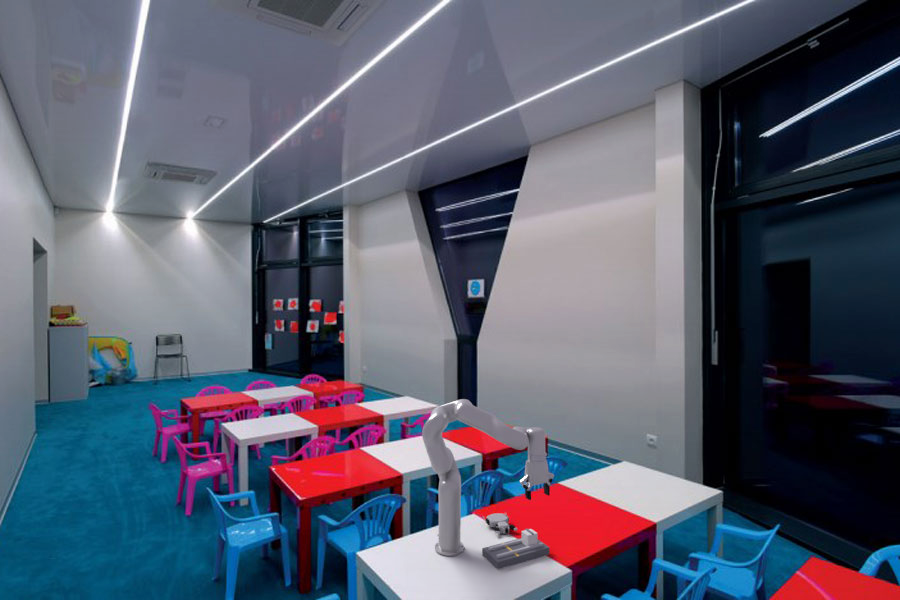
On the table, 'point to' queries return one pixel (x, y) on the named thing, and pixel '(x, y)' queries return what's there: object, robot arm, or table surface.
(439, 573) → the table surface
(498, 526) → the robot toy
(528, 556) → the grey slider rail base
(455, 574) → the table surface
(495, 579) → the table surface
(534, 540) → the fader tab
